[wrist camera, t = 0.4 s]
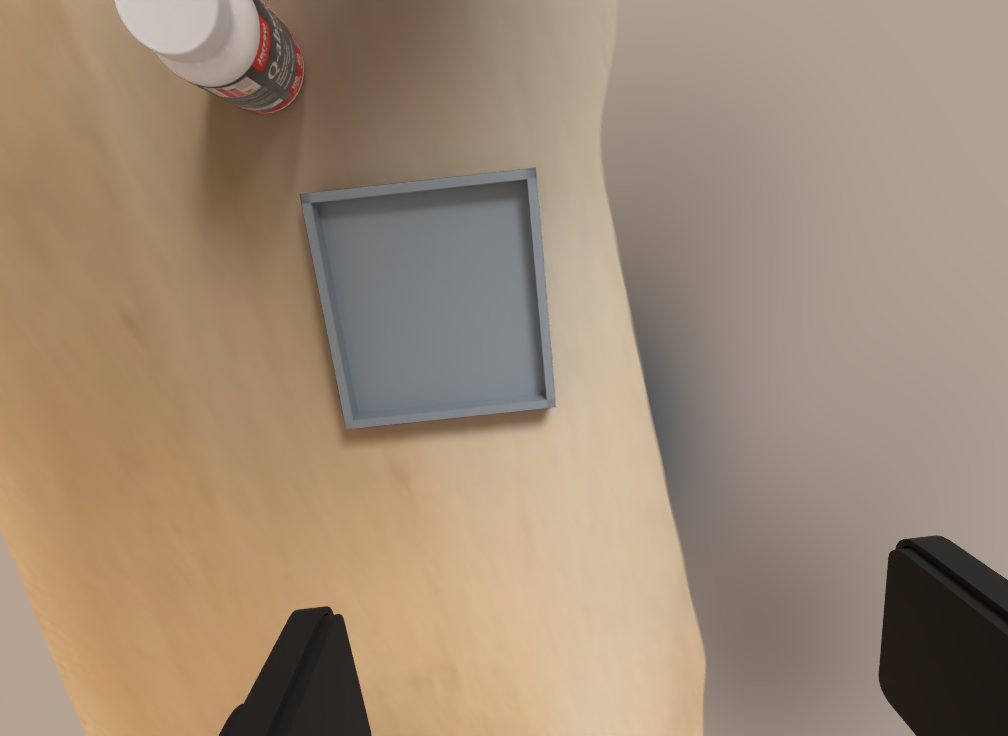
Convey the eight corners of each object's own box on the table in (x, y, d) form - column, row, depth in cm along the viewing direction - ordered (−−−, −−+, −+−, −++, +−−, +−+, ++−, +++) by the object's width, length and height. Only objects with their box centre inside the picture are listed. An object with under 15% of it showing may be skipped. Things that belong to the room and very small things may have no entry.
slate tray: (310, 196, 35) (299, 193, 33) (533, 171, 35) (535, 167, 33) (353, 419, 39) (346, 429, 37) (552, 398, 39) (556, 407, 37)
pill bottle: (320, 100, 33) (250, 48, 24) (237, 126, 34) (135, 85, 24) (286, 1, 32) (196, -97, 22) (200, 29, 32) (75, -55, 23)
